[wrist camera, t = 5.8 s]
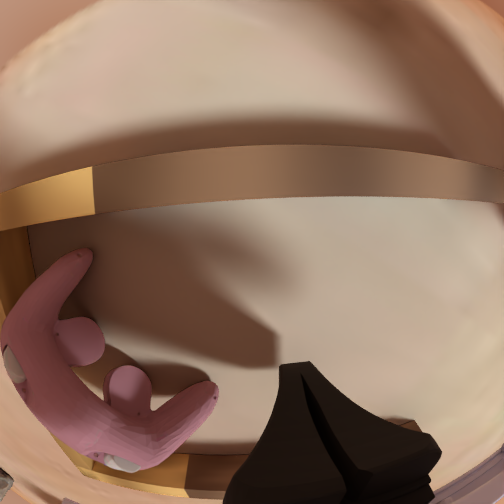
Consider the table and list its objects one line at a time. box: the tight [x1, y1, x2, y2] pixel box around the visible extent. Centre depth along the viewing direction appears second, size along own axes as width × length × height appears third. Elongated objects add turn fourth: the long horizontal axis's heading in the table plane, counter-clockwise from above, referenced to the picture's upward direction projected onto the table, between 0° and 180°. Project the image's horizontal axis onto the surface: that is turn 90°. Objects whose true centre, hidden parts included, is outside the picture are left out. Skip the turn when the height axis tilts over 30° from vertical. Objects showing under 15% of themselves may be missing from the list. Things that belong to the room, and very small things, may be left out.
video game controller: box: [0, 248, 219, 473], centre depth 9 cm, size 10×5×7 cm, turn 38°
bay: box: [0, 145, 504, 499], centre depth 11 cm, size 24×18×3 cm
